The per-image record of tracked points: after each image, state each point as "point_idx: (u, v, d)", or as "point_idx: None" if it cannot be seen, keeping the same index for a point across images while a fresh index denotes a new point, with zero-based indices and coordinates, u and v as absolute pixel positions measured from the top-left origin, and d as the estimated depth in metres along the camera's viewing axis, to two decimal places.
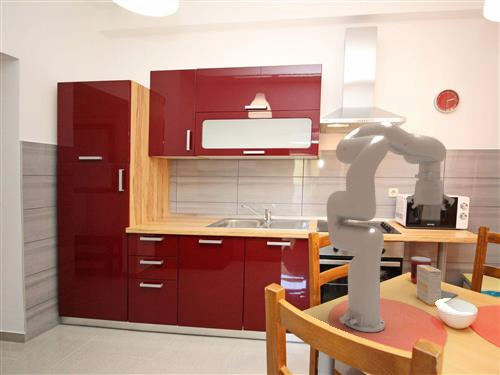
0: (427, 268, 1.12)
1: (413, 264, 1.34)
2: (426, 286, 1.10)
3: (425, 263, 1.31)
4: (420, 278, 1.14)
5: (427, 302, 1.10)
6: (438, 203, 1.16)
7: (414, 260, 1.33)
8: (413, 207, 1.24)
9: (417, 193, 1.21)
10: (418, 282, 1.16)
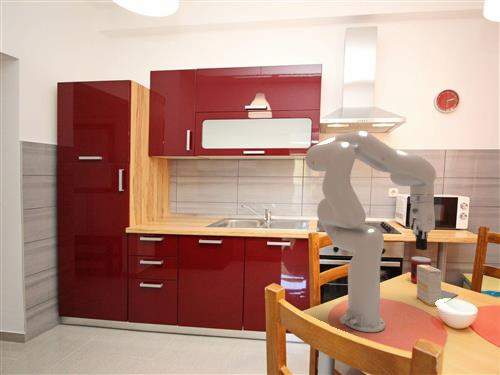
0: (427, 268, 1.12)
1: (413, 264, 1.34)
2: (426, 286, 1.10)
3: (425, 263, 1.31)
4: (420, 278, 1.14)
5: (427, 302, 1.10)
6: (434, 227, 1.09)
7: (414, 260, 1.33)
8: (423, 238, 1.07)
9: (425, 219, 1.05)
10: (418, 282, 1.16)
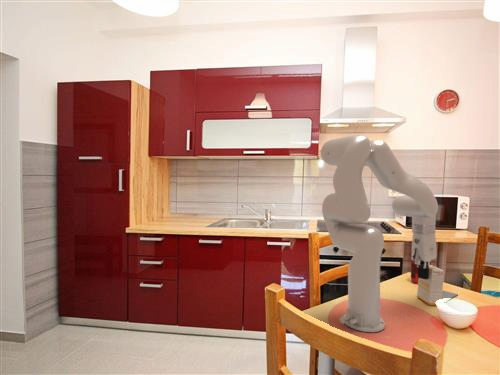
0: (430, 267, 1.12)
1: (413, 264, 1.34)
2: (428, 285, 1.10)
3: None
4: None
5: (427, 301, 1.10)
6: (436, 256, 1.10)
7: (414, 260, 1.33)
8: (425, 267, 1.09)
9: (426, 249, 1.06)
10: (419, 281, 1.16)
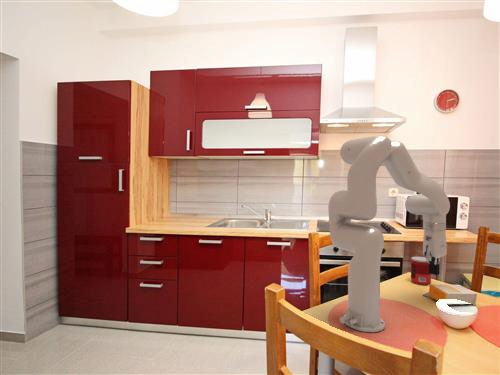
0: None
1: (413, 264, 1.34)
2: (459, 291, 1.10)
3: (425, 263, 1.31)
4: (454, 287, 1.14)
5: (446, 292, 1.09)
6: (446, 253, 1.15)
7: (414, 260, 1.33)
8: (436, 263, 1.14)
9: (437, 246, 1.11)
10: (446, 285, 1.15)
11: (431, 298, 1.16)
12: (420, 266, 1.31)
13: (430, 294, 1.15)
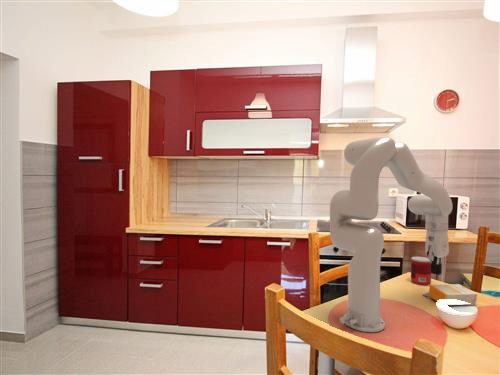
0: None
1: (413, 264, 1.34)
2: (459, 292, 1.10)
3: (425, 263, 1.31)
4: (454, 287, 1.14)
5: (446, 293, 1.08)
6: (448, 253, 1.17)
7: (414, 260, 1.33)
8: (438, 263, 1.15)
9: (440, 246, 1.12)
10: (446, 285, 1.15)
11: (431, 298, 1.16)
12: (420, 266, 1.31)
13: (430, 294, 1.15)
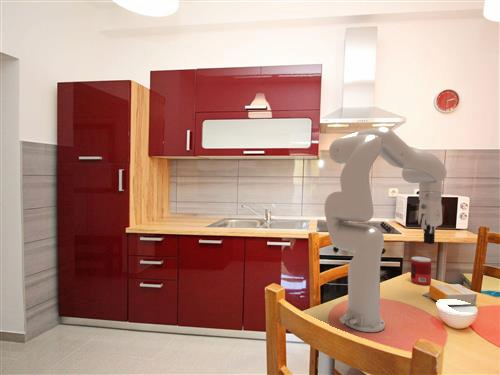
0: None
1: (413, 264, 1.34)
2: (459, 292, 1.10)
3: (425, 263, 1.31)
4: (454, 287, 1.14)
5: (446, 293, 1.08)
6: (441, 223, 1.16)
7: (414, 260, 1.33)
8: (431, 232, 1.14)
9: (432, 214, 1.12)
10: (446, 285, 1.15)
11: (431, 298, 1.16)
12: (420, 266, 1.31)
13: (430, 294, 1.15)
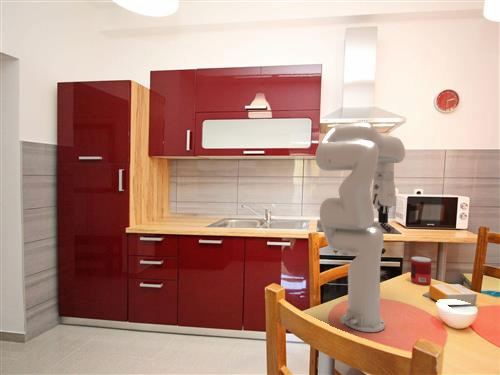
0: None
1: (413, 264, 1.34)
2: (459, 292, 1.10)
3: (425, 263, 1.31)
4: (454, 287, 1.14)
5: (446, 293, 1.08)
6: None
7: (414, 260, 1.33)
8: (384, 212, 1.18)
9: (385, 194, 1.15)
10: (446, 285, 1.15)
11: (431, 298, 1.16)
12: (420, 266, 1.31)
13: (430, 294, 1.15)
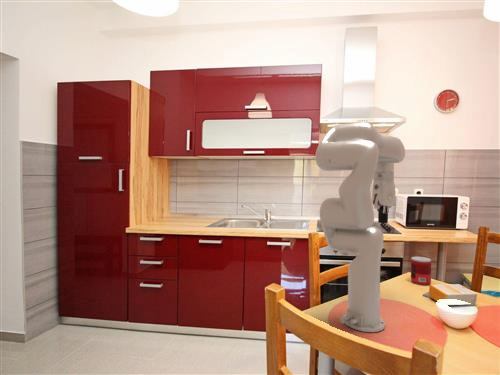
0: None
1: (413, 264, 1.34)
2: (459, 292, 1.10)
3: (425, 263, 1.31)
4: (454, 287, 1.14)
5: (446, 293, 1.08)
6: None
7: (414, 260, 1.33)
8: (384, 212, 1.18)
9: (385, 194, 1.15)
10: (446, 285, 1.15)
11: (431, 298, 1.16)
12: (420, 266, 1.31)
13: (430, 294, 1.15)
